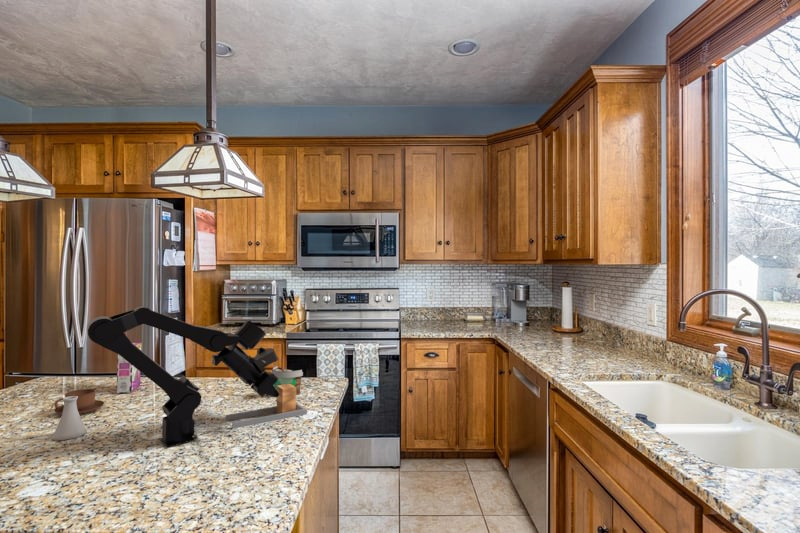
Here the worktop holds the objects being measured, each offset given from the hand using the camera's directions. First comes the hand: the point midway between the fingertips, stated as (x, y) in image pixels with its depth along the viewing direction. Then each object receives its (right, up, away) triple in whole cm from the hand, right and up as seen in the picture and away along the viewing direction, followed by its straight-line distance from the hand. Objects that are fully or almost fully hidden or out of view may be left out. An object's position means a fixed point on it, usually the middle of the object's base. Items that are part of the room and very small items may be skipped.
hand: (277, 395), depth 123 cm
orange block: (+2, -6, +1) cm, 6 cm away
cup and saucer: (-62, -7, +5) cm, 63 cm away
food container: (-4, -8, +21) cm, 23 cm away
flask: (-51, -7, -13) cm, 53 cm away
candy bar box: (-63, -7, +30) cm, 70 cm away
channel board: (-3, -7, -2) cm, 8 cm away
